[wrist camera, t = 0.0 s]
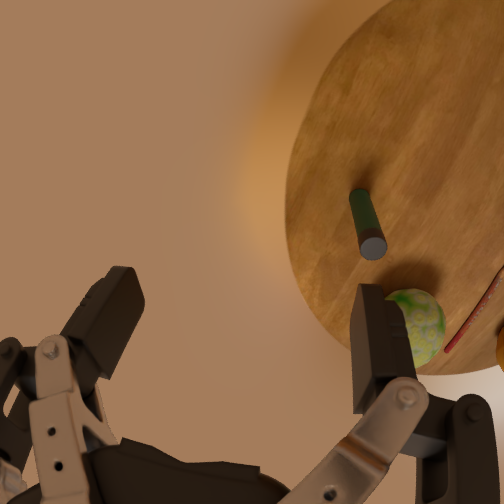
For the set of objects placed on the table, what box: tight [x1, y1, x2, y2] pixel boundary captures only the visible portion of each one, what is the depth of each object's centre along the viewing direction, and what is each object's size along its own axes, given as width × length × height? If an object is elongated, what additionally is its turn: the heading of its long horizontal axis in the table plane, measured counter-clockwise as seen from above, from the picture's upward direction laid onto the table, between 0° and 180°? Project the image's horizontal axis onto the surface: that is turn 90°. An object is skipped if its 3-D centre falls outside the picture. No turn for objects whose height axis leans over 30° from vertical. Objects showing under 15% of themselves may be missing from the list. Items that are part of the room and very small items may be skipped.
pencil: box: [444, 267, 504, 353], centre depth 37 cm, size 19×1×1 cm, turn 173°
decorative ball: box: [385, 288, 446, 368], centre depth 34 cm, size 10×10×10 cm
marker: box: [349, 189, 387, 260], centre depth 28 cm, size 2×2×9 cm
